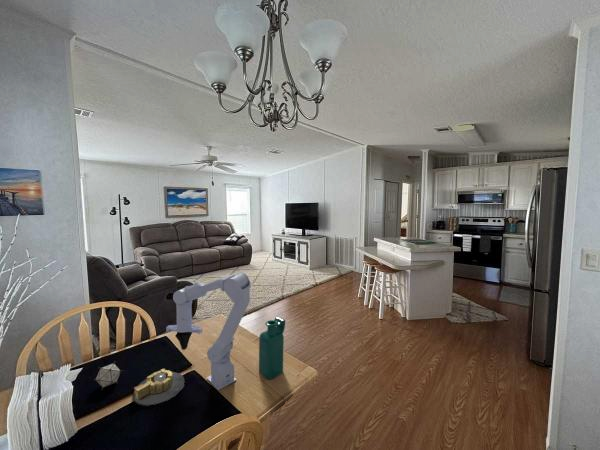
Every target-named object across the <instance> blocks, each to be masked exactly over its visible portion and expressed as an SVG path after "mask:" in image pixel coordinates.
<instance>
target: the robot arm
mask: <svg viewBox="0 0 600 450" xmlns="http://www.w3.org/2000/svg"><path fill="white" fill-rule="evenodd" d="M251 284H252V283H251V281H250V279H249V276H248V275H247V274H246V273H244V272H239V273H237V274H235V273H234V274H230V275H227V276H223V277H220V278H218V279H215V280H213V281H210V282H208V283H205V282H204V283H203V282H198V281H196V282H195V283H193V284H192V285H187V286H184V288H181V289H179V290H176V291H175V292H174V293H173V295H172V299H173V302H174V303H175V305H176V324H171V325H170V324H169V325H167V326H166V328H165V329H166V330H165V331H166V332H167V333H170V332H175V333H176V334H175V338H176V339H177V340H178V343H179V345H180V348H181V350H182V351H185V350H186V349H188V345H189V341H190V338H191V336H192V334H194V333H195V334H198V335H200V334H201V333H202V332H203V327H201V326H197V325H193V322H192V321H193V319H192V318H193V315H192V314H193V313H192V305H193V300H197V299H200V298H203V297H205V296H206V295H207V293H209V292H211V291H214V290H219V289H220V291H221V292H225V294H226V295H227V297H228V298H229V299H230V300H231V301H232V302H233V305H232V308H231V310H230V312H229V314H228V317H227V319H226V320H225V323H224V325H223V327H222V330H221V332H220V333H219V336H218V337H217V338H216V340H215V341H214V343H213V344H212V346H211V347H209V348H208V350H207V351H206V353H207V354H206V356H207V359H208V360H209V361H210V375H209V376H207V377H206V380H207V381H208V382H210V383H211V384H212V385H213V387H215V389H217V390H218V391H220V390H222V389H223V388H225V387H227V386H229V385H230V384H232V383H234V382H236V381H237V378H236V377H235V365H234V363H232V361H231V357H230V355H231V350H232V349H233V347H234V340H235V338H234V335H235V334H236V332H237V329H238V328H239V325H240V323H241V321H242V320H243V316H244V315H245V313H246V310H247V309H248V307H249V305H250V302H251V301H250V300H251V299H250V298H251V297H250V295H251V293H250V287H251Z"/></svg>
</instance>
